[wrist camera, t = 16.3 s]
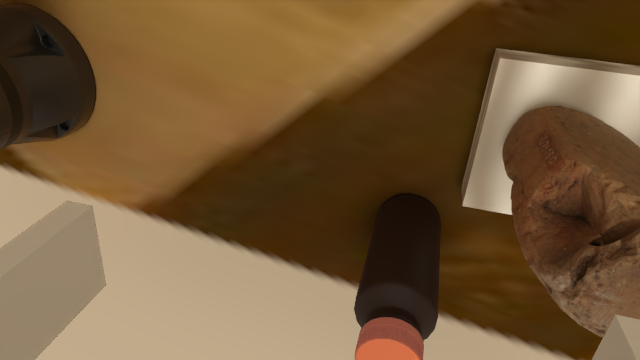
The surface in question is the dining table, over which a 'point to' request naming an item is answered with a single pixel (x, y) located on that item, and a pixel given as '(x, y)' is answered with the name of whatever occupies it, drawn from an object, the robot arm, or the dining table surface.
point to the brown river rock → (577, 211)
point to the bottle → (399, 281)
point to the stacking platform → (538, 91)
